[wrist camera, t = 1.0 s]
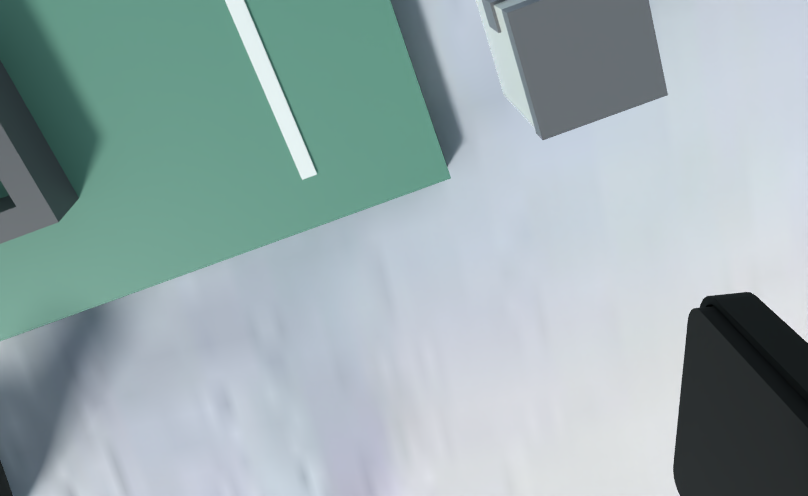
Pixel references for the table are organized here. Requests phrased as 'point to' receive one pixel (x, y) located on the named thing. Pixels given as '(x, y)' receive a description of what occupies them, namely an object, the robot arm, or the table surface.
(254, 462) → the table surface
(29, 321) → the board
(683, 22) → the table surface
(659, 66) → the plug
